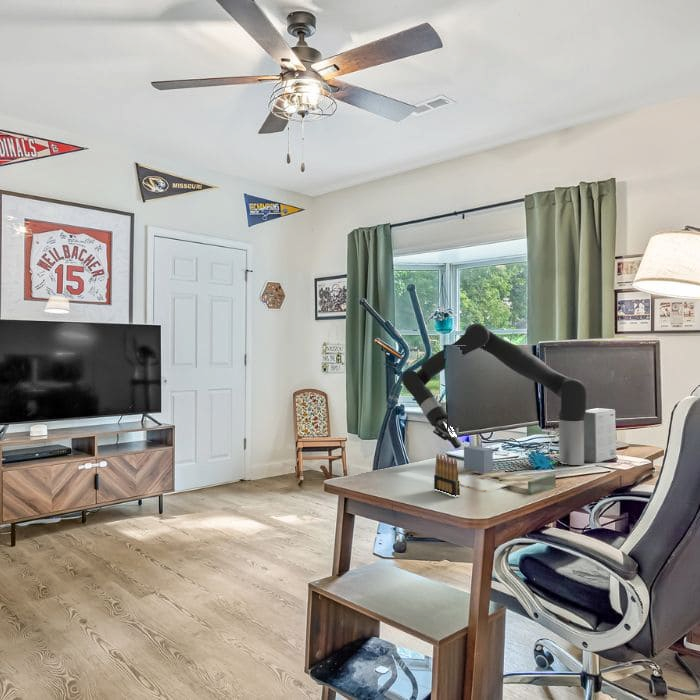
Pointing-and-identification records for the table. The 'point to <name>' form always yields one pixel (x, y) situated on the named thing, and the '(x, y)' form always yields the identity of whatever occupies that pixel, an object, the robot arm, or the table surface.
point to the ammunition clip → (446, 476)
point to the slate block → (478, 459)
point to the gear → (541, 460)
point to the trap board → (518, 481)
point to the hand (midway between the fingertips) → (458, 447)
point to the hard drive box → (599, 435)
